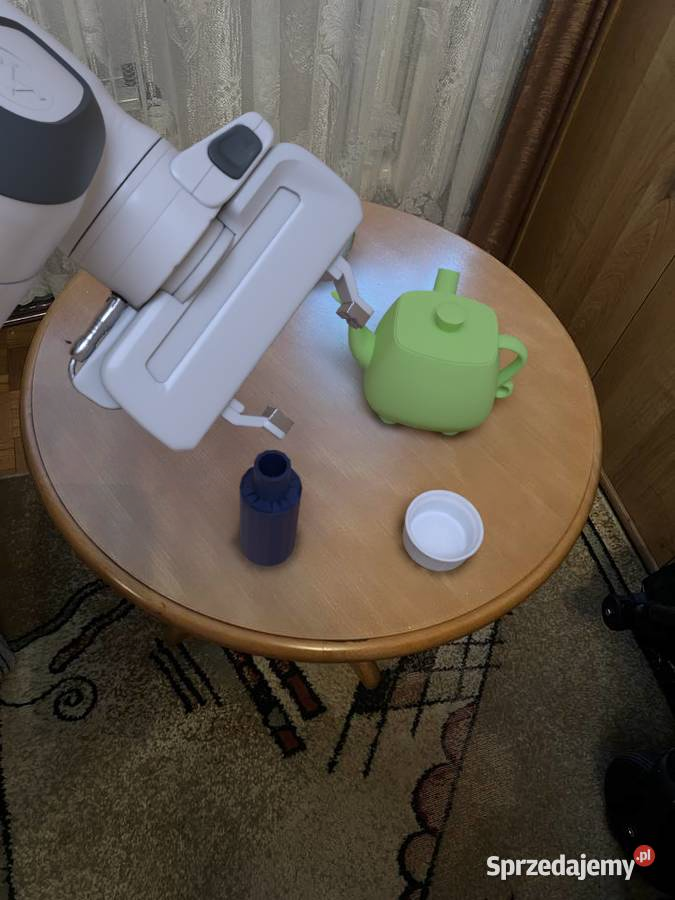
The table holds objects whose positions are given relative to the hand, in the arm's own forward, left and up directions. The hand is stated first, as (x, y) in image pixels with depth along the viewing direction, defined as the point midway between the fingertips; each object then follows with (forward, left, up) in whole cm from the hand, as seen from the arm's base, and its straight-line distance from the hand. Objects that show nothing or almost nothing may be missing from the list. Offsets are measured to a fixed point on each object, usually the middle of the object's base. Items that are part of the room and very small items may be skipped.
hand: (325, 375), depth 45 cm
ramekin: (+15, -6, -33) cm, 37 cm away
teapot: (+29, +14, -33) cm, 46 cm away
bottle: (-1, +5, -33) cm, 33 cm away
